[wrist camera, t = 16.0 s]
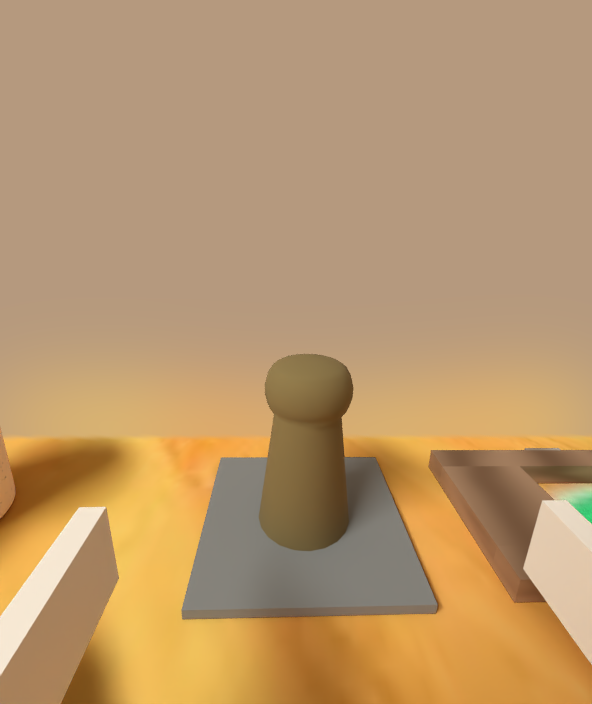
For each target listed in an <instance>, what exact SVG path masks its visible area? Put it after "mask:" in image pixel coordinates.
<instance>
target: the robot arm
mask: <svg viewBox="0 0 592 704" xmlns="http://www.w3.org/2000/svg"><path fill="white" fill-rule="evenodd" d="M523 569H524V571H525V572H526V574H527V575H528V576H529V578H530V579H531V581H532V582H533V583H534V585H535V586H536V588H537V589H538V590H539V592H540V593H541V595H542V596H543V597H544V599H545V600H546V602H547V603H548V604H549V606H550V607H551V609H552V610H553V611H554V613H555V614H556V616H557V617H558V618H559V620H560V621H561V623H562V624H563V625H564V627H565V628H566V630H567V631H568V632H569V634H570V635H571V637H572V638H573V639H574V641H575V642H576V644H577V645H578V646H579V648H580V649H581V651H582V652H583V653H584V655H585V656H586V658H587V659H588V660H589V662H590V663H591V665H592V524H591V523H590V522H589V521H588V520H587V519H586V518H584V517H583V516H582V515H581V514H580V513H579V512H578V511H577V510H576V509H575V508H574V507H573V506H572V505H571V504H570V503H569V502H568V501H567V500H543V501H542V503H541V506H540V510H539V514H538V517H537V521H536V524H535V528H534V531H533V535H532V539H531V542H530V546H529V549H528V553H527V556H526V560H525V564H524V567H523ZM118 579H119V576H118V570H117V565H116V559H115V554H114V548H113V543H112V537H111V531H110V526H109V520H108V515H107V509H106V507H79V508H78V510H77V511H76V512H75V514H74V515H73V517H72V518H71V519H70V521H69V522H68V524H67V525H66V526H65V528H64V529H63V530H62V532H61V533H60V535H59V536H58V537H57V539H56V540H55V542H54V543H53V544H52V546H51V547H50V548H49V550H48V551H47V553H46V554H45V555H44V557H43V558H42V560H41V561H40V562H39V564H38V565H37V566H36V568H35V569H34V571H33V572H32V573H31V575H30V576H29V578H28V579H27V580H26V582H25V583H24V585H23V586H22V587H21V589H20V590H19V591H18V593H17V594H16V596H15V597H14V598H13V600H12V601H11V603H10V604H9V605H8V607H7V608H6V609H5V611H4V612H3V614H2V615H1V616H0V704H61V702H62V700H63V698H64V696H65V694H66V692H67V689H68V687H69V685H70V683H71V681H72V679H73V676H74V674H75V672H76V670H77V668H78V666H79V663H80V661H81V659H82V657H83V655H84V653H85V650H86V648H87V646H88V644H89V642H90V640H91V637H92V635H93V633H94V631H95V629H96V627H97V624H98V622H99V620H100V618H101V616H102V614H103V611H104V609H105V607H106V605H107V603H108V601H109V598H110V596H111V594H112V592H113V590H114V588H115V585H116V583H117V581H118Z"/></svg>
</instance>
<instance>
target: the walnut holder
mask: <svg viewBox="0 0 592 704" xmlns="http://www.w3.org/2000/svg"><path fill="white" fill-rule="evenodd" d="M429 468H430V470H431V471H432V473H433V474H434V476H435V478H436V479H437V481H438V482H439V484H440V486H441V487H442V489H443V490H444V492H445V493H446V495H447V497H448V498H449V500H450V501H451V503H452V505H453V506H454V508H455V509H456V511H457V512H458V514H459V516H460V517H461V519H462V520H463V522H464V524H465V525H466V527H467V528H468V530H469V531H470V533H471V535H472V536H473V538H474V539H475V541H476V543H477V544H478V546H479V547H480V549H481V550H482V552H483V554H484V555H485V557H486V558H487V560H488V562H489V563H490V565H491V566H492V568H493V569H494V571H495V573H496V574H497V576H498V577H499V579H500V581H501V582H502V584H503V585H504V587H505V588H506V590H507V592H508V593H509V595H510V596H511V598H512V600H513V601H514V602H546V600H545V599H544V597H543V596H542V595H541V593H540V592H539V590H538V589H537V588H536V586H535V585H534V583H533V582H532V581H531V579H530V578H529V576H528V575H527V574H526V572H525V571H524V569H523V567H524V564H525V560H526V556H527V553H528V549H529V546H530V542H531V539H532V535H533V531H534V528H535V524H536V521H537V517H538V514H539V510H540V506H541V503H542V501H543V500H554V499H553V498H552V497H551V496H550V495H549V494H548V493H547V492H546V491H544V490H543V489H542V488H541V487H540V486H539V485H538V484H537V483H592V450H560V449H559V448H525V450H431V455H430V461H429Z"/></svg>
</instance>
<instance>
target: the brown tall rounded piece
mask: <svg viewBox="0 0 592 704" xmlns="http://www.w3.org/2000/svg"><path fill="white" fill-rule="evenodd" d="M265 395H266V399H267V403H268V405H269V407H270V409H271V410H272V412H273V413H274V418H273V425H272V432H271V438H270V445H269V452H268V458H267V465H266V471H265V478H264V485H263V491H262V498H261V504H260V511H259V521H260V525H261V528H262V529H263V531H264V532H265V534H266V535H267V536H268V538H270V539H271V540H273V541H274V542H276V543H277V544H278V545H280V546H283V547H286V548H289V549H292V550H298V551H314V550H319V549H324V548H327V547H328V546H330V545H332V544H334V543H336V542H338V540H339V539H340V538H341V537H342V536H343V535H344V534H345V533H346V530H347V527H348V524H349V515H348V501H347V487H346V473H345V460H344V446H343V432H342V419H341V417H342V416H343V415H344V414H345V413H346V411H347V409H348V407H349V405H350V403H351V400H352V396H353V384H352V379H351V375H350V373H349V371H348V369H347V367H346V366H345V365H343V364H342V363H341V362H339V361H338V360H335V359H333V358H331V357H327V356H323V355H316V354H298V355H291V356H287V357H285V358H282V359H280V360H278V361H277V362H276V363H274V364H273V365H272V367H271V368H270V370H269V372H268V375H267V379H266V382H265Z"/></svg>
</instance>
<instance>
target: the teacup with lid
mask: <svg viewBox="0 0 592 704" xmlns="http://www.w3.org/2000/svg"><path fill="white" fill-rule="evenodd" d="M15 494H16V488H15V484H14V480H13V476H12V472H11V468H10V464H9V460H8V456H7V452H6V448H5V444H4V440H3V436H2V432H1V429H0V519H1V517H2V516H3V515H4V514H5V513H6V512H7V511H8V509H9V508H10V506H11V504H12V503H13V500H14V498H15Z"/></svg>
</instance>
